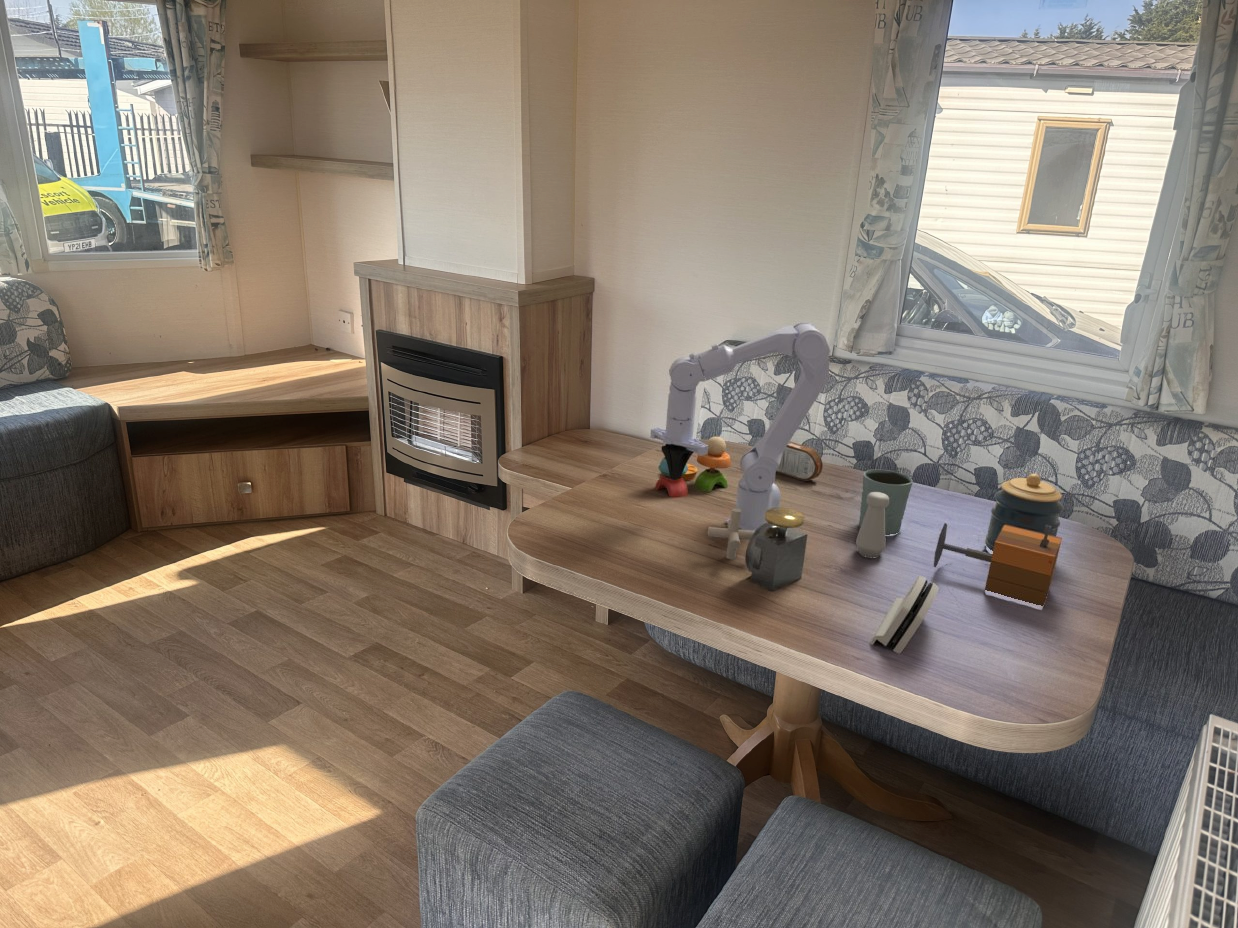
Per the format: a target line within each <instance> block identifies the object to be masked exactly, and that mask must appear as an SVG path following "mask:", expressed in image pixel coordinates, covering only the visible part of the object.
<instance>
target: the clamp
mask: <svg viewBox="0 0 1238 928" xmlns="http://www.w3.org/2000/svg"><path fill="white" fill-rule="evenodd" d="M947 530H948V523H946V522H944V524H943V527H942V529H941V531H940V532H939V537H938V540H937V543H936V547H935V552H934V558H933V559H934V560H933V567H934V568H937V567H938V564H939V562H940V559H941V557H942V555H943V551H944V550H947V551H951V552H954V553H958V554H962V555H965V556H966V557H969V558H972V559H976V560H979V561H984V562H987V563H989V568H988V573H987V577H986V583H985V586H984V591H985V590H987V591H991V592H994V593H998V594H1001V595H1004V596H1007V597H1011V598H1014V599H1018V600H1022V601H1025V602H1029V603H1033V604H1036V605H1041V606H1043V605H1044V606H1045V604H1046V601H1045V600H1047V598H1048V595H1047V594H1049V592H1050V590H1049V589H1051V585H1052V582H1053V577H1054V574H1055V570H1056V569H1055V568H1056V564H1057V560H1058V557H1059V552H1060V550H1061V549H1060V548H1061V545H1062V539H1063V538H1062V537H1060V536H1057V535H1056V536H1052V535H1048V533H1049V532H1050V530H1051V526H1050V525H1045V534H1044V533H1039V532H1035V531H1031V530H1027V529H1023V528H1018V527H1014V526H1010V525H1006V524H1005V525H1004V527H1003V528H1002V530H1001V532H1000V534H999V536H998V537H997V539H996V541H995V545H994V549H993V554H990V553H988V552H985V551H980V550H976V549H973V548H969V547H967V548H965V547H964V548H963V547H960V546H955V545H953V544H949V543H948V544H947V543H946V538H947ZM936 566H937V567H936ZM1048 591H1049V592H1048ZM1046 597H1047V598H1046ZM1044 603H1045V604H1044Z"/></svg>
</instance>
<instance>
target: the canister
mask: <svg viewBox="0 0 1238 928" xmlns="http://www.w3.org/2000/svg"><path fill="white" fill-rule="evenodd" d="M1041 479H1042V478H1041V477H1040V475H1039V474H1037V473H1030V474H1029V475H1027V476H1026V477H1014V478H1012V479H1010V480H1006V481H1004V482H1002V483H1001V485H1000V487H1001V490H998V491H996V492H995V494H994V499H995V500H996V501H995V504H994V506H993V507H992V508H991V510H990V511H991V513H990V514H991V516H990V519H989V520H990V521H989V524H988V529H987V534H986V535H985V539H984V544H986V546H987V547H988V548H989V549H990V550H992V551H993V549H994V545H995V541H996V539H997V537H998V536H999V534H1000V532H1001V530H1002V528H1003V527H1004V525H1005V524H1006V525H1010V526H1014V527H1018V528H1023V529H1027V530H1031V531H1035V532H1039V533H1044V534H1045V525H1050V526H1051V530H1050V532H1049V533H1048V535H1052V536H1056V537H1057V534H1058V529H1059V527H1060V525H1061V521H1060V520H1059V519H1060V517H1059V516H1060V514H1061V513H1063V511H1064V509H1065V508H1064V507H1065V506H1064V505H1063V504H1062V503H1061V502H1060V500H1061V499H1062V498H1063V494H1062V493H1060V491H1059V490H1057V489H1056V488H1055V486H1053V485H1051V484H1050V483H1048V482H1045V481H1042V480H1041Z"/></svg>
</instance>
